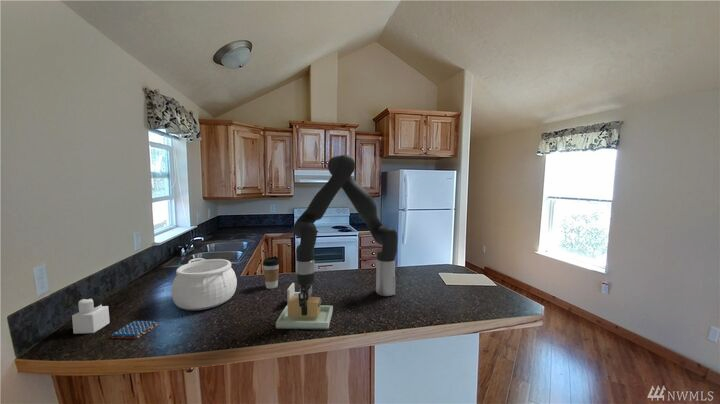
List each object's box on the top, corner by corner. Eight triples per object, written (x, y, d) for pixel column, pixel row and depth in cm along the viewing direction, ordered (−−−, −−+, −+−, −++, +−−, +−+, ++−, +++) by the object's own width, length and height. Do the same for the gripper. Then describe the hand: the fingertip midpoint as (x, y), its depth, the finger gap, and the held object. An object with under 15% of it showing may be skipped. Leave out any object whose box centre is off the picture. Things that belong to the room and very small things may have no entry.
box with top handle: (322, 311, 110) (322, 297, 110) (319, 317, 105) (319, 302, 105) (292, 310, 111) (291, 296, 111) (287, 316, 106) (287, 301, 106)
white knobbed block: (90, 323, 105) (88, 294, 104) (110, 323, 106) (108, 293, 105) (72, 334, 98) (70, 302, 97) (93, 333, 99) (91, 301, 98)
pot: (247, 300, 126) (246, 264, 124) (182, 322, 106) (179, 280, 105) (224, 284, 145) (222, 253, 144) (165, 300, 126) (163, 264, 125)
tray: (332, 311, 115) (332, 305, 115) (328, 329, 101) (328, 322, 101) (286, 310, 116) (286, 305, 116) (275, 328, 102) (275, 322, 102)
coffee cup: (283, 284, 144) (282, 257, 143) (272, 290, 137) (271, 262, 135) (271, 282, 148) (270, 255, 147) (259, 287, 140) (259, 260, 139)
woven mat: (160, 324, 105) (160, 319, 105) (137, 340, 95) (137, 335, 95) (134, 324, 106) (134, 319, 106) (109, 340, 95) (108, 334, 95)
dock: (310, 299, 127) (310, 283, 126) (306, 307, 118) (306, 290, 118) (292, 299, 127) (292, 282, 126) (287, 307, 119) (287, 289, 118)
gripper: (311, 277, 100) (311, 320, 101) (318, 265, 114) (318, 303, 115) (291, 276, 100) (291, 320, 101) (300, 264, 114) (301, 303, 116)
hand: (306, 311), depth 108 cm, fingers closed on box with top handle, 5 cm apart
